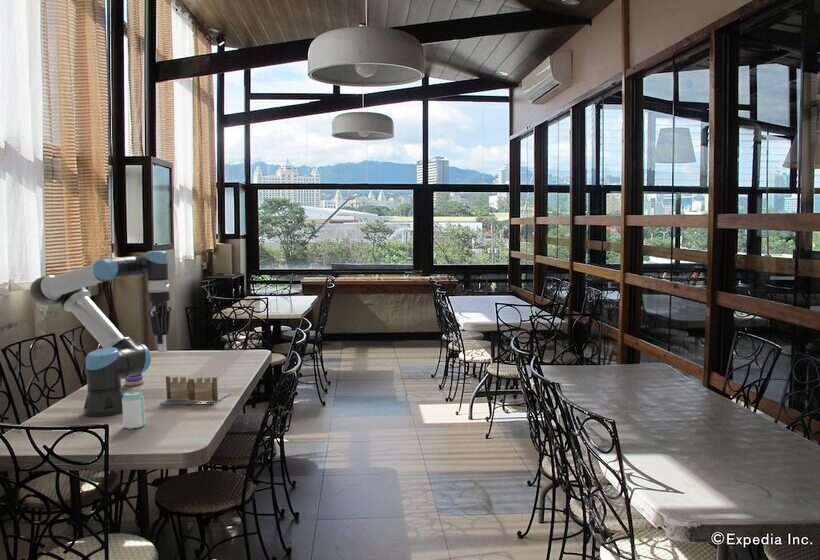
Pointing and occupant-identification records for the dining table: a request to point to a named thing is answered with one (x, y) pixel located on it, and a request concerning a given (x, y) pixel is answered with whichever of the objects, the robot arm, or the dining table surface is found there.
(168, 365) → the dining table surface
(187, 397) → the hinged fence panel
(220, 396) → the card
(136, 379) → the stacking toy
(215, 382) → the fixed fence section
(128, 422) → the can
